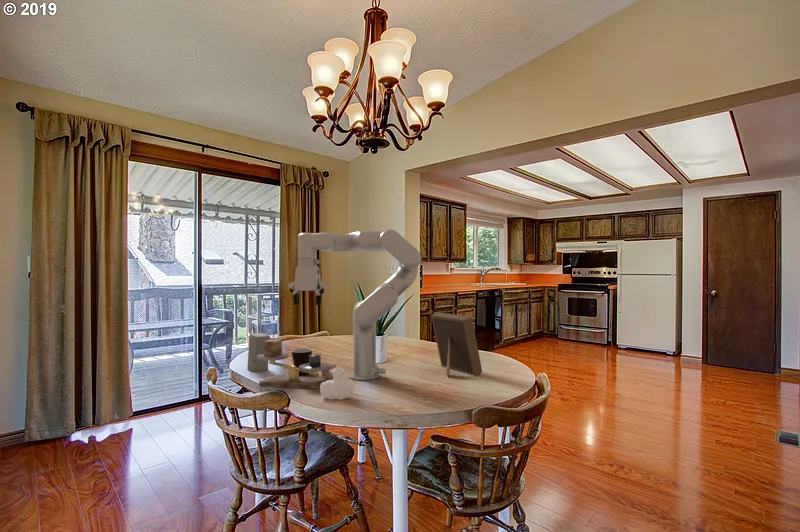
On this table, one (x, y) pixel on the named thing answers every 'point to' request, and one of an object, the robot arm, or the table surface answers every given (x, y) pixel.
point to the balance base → (292, 382)
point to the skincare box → (257, 352)
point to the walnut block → (272, 348)
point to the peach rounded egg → (328, 372)
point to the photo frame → (457, 343)
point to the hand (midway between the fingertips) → (307, 304)
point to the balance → (308, 368)
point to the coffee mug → (301, 358)
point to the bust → (337, 386)
